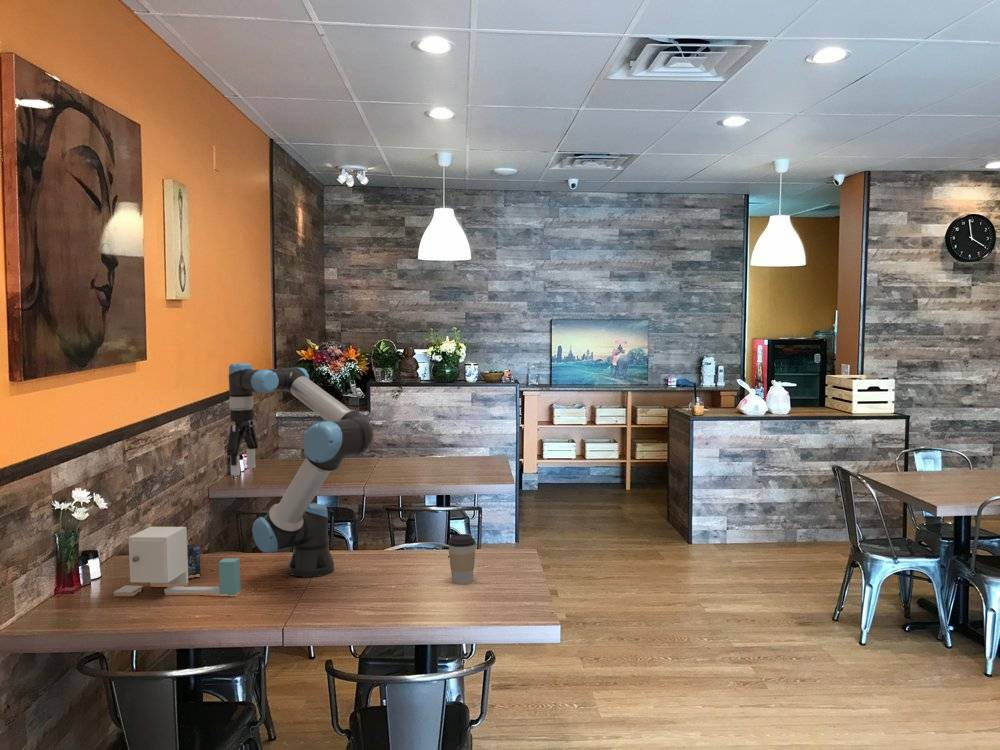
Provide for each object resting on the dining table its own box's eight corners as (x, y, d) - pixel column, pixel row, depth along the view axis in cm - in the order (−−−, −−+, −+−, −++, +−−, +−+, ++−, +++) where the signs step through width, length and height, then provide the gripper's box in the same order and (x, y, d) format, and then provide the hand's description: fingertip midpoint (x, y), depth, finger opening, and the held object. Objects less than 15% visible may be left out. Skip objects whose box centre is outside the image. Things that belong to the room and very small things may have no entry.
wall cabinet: (188, 586, 252) (186, 526, 251) (166, 601, 238) (164, 538, 237) (152, 586, 253) (150, 526, 252) (128, 601, 239) (126, 538, 238)
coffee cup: (478, 576, 259) (477, 532, 258) (474, 585, 250) (473, 539, 249) (451, 576, 259) (450, 531, 259) (446, 585, 250) (445, 539, 250)
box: (177, 582, 256) (176, 550, 256) (170, 578, 261) (169, 547, 260) (201, 577, 262) (200, 546, 261) (194, 573, 266) (193, 543, 265)
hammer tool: (240, 592, 246) (239, 558, 245) (235, 597, 242) (234, 562, 241) (170, 592, 247) (168, 557, 247) (163, 596, 243) (162, 561, 243)
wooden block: (143, 592, 249) (142, 585, 249) (132, 598, 243) (131, 591, 243) (125, 591, 250) (125, 585, 250) (114, 597, 244) (113, 591, 244)
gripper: (245, 405, 276) (247, 464, 278) (214, 412, 252) (216, 478, 253) (266, 405, 276) (267, 464, 277) (237, 412, 251) (239, 478, 252)
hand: (243, 471), depth 265 cm, fingers open, 13 cm apart
